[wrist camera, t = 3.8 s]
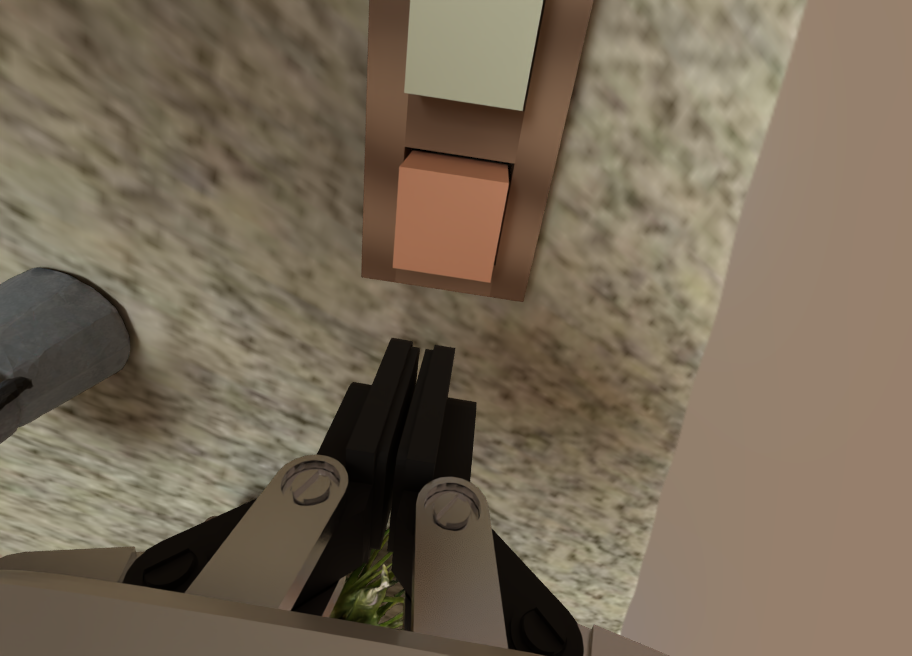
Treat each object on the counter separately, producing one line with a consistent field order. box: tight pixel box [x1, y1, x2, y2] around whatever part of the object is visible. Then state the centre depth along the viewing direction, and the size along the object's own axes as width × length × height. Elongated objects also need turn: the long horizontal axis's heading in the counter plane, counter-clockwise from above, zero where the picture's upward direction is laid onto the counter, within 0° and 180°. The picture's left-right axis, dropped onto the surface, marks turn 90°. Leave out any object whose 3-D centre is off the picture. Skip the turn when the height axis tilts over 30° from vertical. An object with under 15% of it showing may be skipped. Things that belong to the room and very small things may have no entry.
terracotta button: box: [393, 150, 509, 283], centre depth 24 cm, size 5×5×4 cm
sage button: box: [404, 0, 543, 111], centre depth 20 cm, size 5×5×4 cm
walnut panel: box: [361, 0, 594, 302], centre depth 22 cm, size 26×10×2 cm, turn 172°
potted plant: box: [205, 516, 405, 630], centre depth 39 cm, size 25×18×25 cm
